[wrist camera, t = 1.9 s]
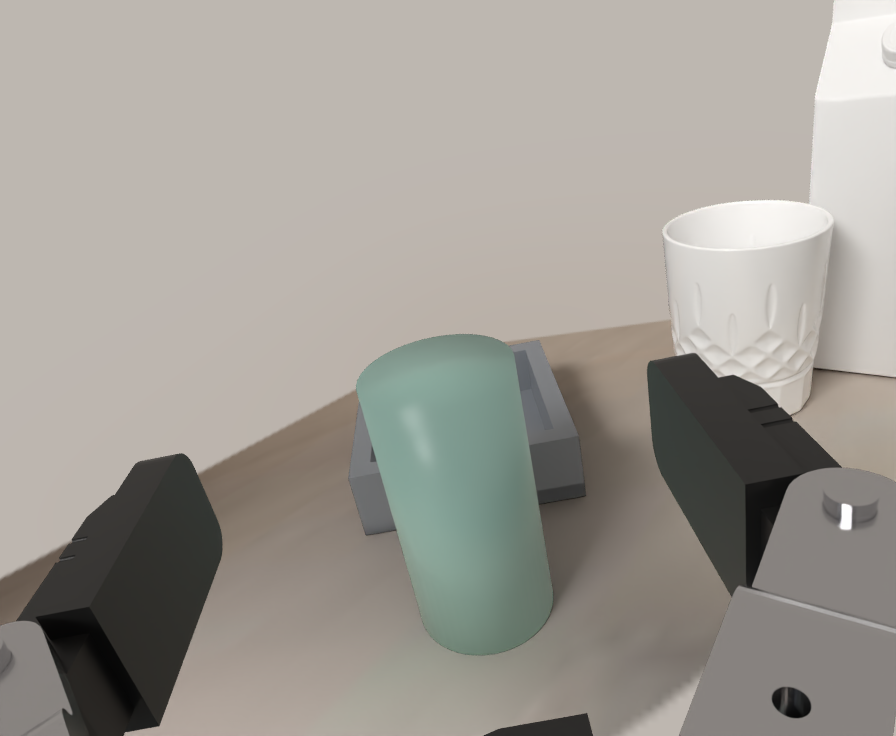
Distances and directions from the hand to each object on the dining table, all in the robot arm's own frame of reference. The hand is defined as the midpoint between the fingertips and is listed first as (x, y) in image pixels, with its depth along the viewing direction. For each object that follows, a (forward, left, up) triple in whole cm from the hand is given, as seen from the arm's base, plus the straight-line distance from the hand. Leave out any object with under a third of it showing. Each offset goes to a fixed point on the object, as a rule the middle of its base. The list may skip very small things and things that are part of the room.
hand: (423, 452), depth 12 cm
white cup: (+16, +23, -15) cm, 32 cm away
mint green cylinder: (0, +11, -15) cm, 19 cm away
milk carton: (+25, +25, -15) cm, 39 cm away
